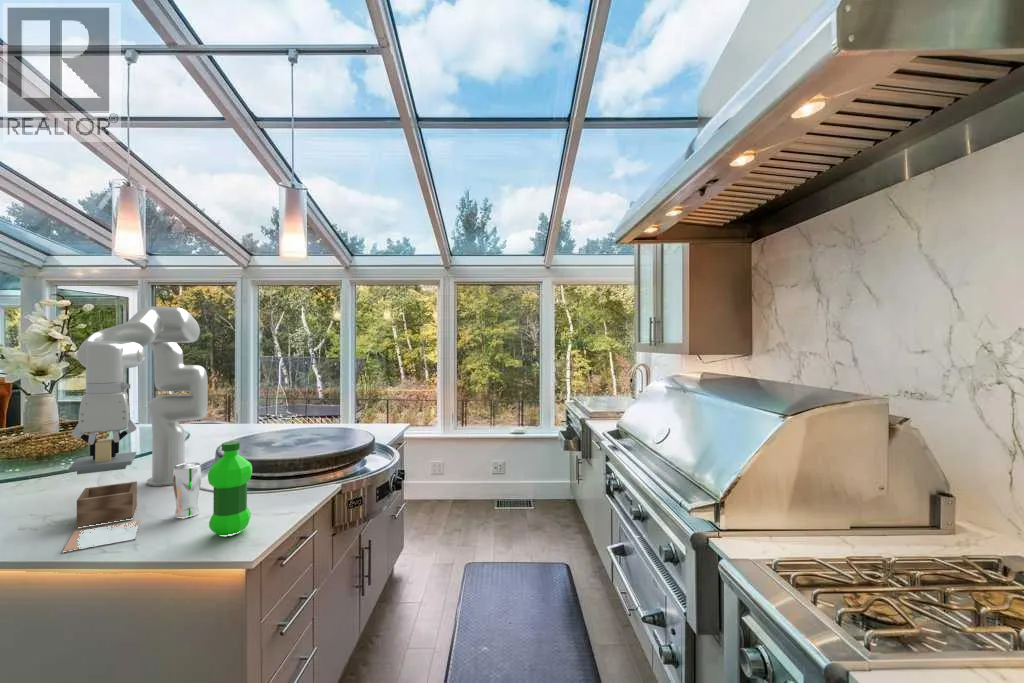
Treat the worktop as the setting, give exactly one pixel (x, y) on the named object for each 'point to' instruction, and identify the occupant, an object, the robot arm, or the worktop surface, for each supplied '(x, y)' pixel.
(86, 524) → the walnut box
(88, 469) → the lid
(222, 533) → the plastic bottle
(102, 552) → the worktop surface
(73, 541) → the terracotta mat
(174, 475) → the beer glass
